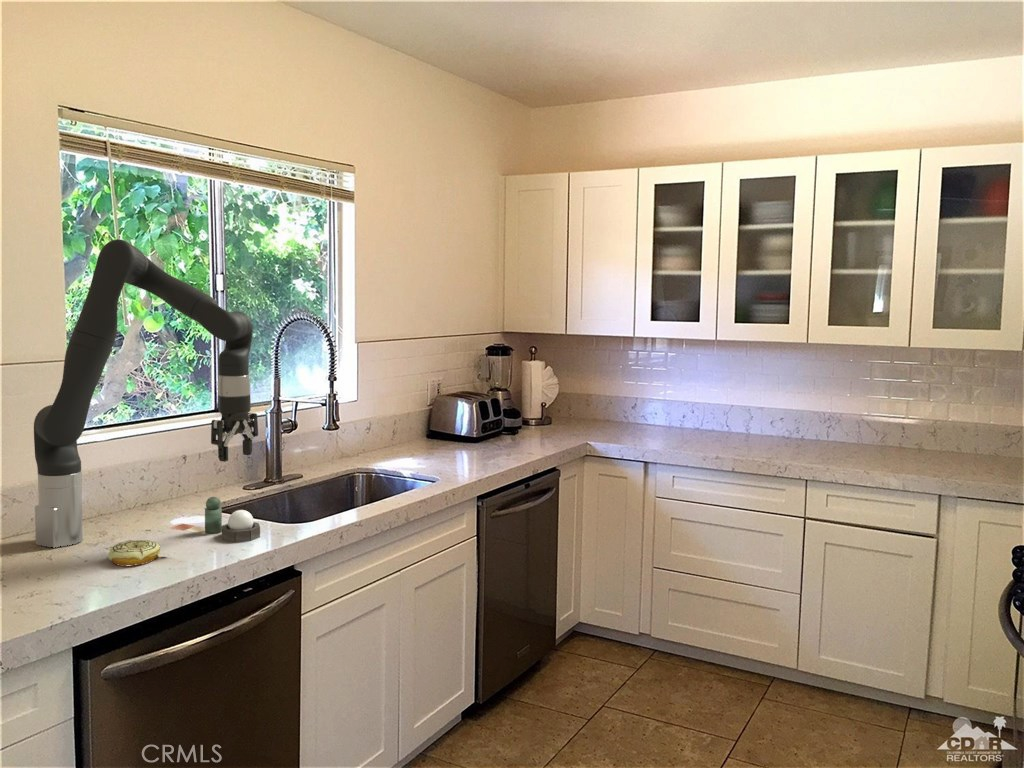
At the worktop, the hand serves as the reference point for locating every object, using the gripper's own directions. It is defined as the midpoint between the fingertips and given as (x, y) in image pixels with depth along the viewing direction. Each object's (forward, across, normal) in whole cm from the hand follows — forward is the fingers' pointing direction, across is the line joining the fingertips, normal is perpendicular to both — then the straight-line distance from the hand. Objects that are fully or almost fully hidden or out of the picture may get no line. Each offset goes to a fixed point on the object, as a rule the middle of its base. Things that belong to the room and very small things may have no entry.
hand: (235, 457), depth 206 cm
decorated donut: (+21, -23, +10) cm, 33 cm away
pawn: (+19, -1, +6) cm, 21 cm away
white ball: (+19, -1, -2) cm, 19 cm away
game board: (+21, -1, +6) cm, 22 cm away
